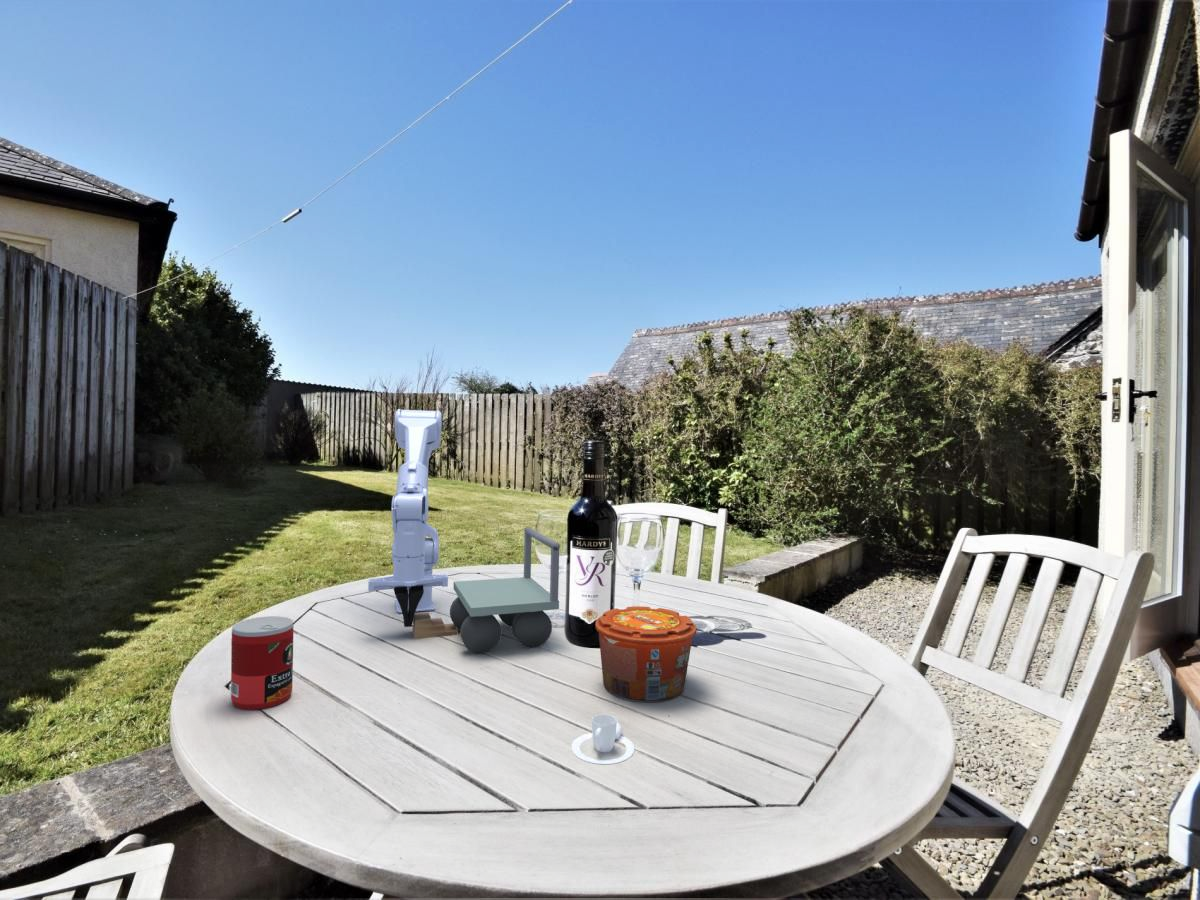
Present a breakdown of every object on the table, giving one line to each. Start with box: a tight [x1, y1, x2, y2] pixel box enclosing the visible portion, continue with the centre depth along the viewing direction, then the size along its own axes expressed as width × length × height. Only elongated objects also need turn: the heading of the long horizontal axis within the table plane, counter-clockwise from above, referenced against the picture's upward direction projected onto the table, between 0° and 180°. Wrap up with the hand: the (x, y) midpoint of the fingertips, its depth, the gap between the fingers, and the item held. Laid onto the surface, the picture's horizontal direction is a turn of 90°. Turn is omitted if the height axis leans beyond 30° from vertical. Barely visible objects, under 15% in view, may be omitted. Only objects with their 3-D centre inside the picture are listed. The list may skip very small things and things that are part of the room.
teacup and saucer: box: [570, 713, 635, 765], centre depth 78 cm, size 9×8×4 cm
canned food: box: [230, 615, 294, 711], centre depth 89 cm, size 8×8×11 cm
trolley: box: [449, 526, 561, 655], centre depth 118 cm, size 20×17×20 cm
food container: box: [594, 605, 697, 703], centre depth 97 cm, size 16×16×11 cm
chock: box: [412, 612, 459, 640], centre depth 120 cm, size 5×8×4 cm, turn 112°
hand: (407, 625), depth 119 cm, fingers closed
